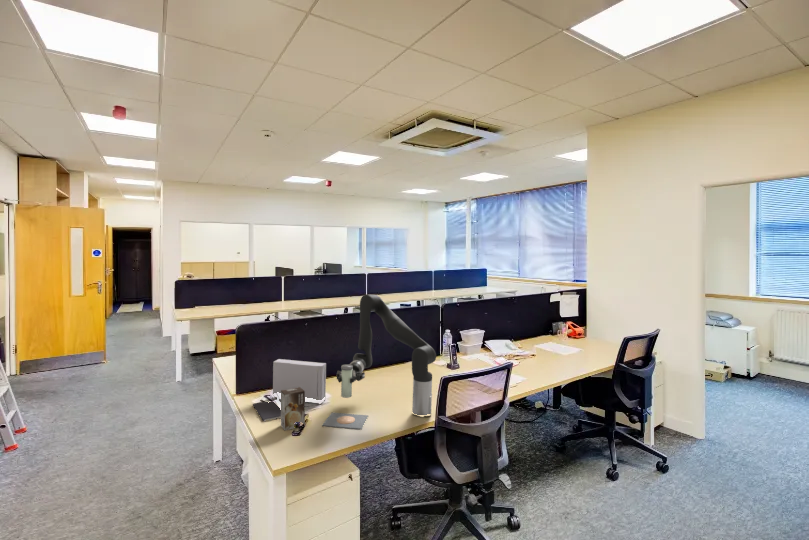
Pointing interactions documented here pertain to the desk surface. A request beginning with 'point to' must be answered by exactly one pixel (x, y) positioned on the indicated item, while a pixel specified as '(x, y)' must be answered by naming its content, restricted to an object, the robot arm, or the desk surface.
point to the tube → (346, 381)
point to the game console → (300, 377)
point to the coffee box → (292, 407)
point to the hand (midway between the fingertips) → (345, 380)
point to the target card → (345, 420)
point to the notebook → (267, 410)
